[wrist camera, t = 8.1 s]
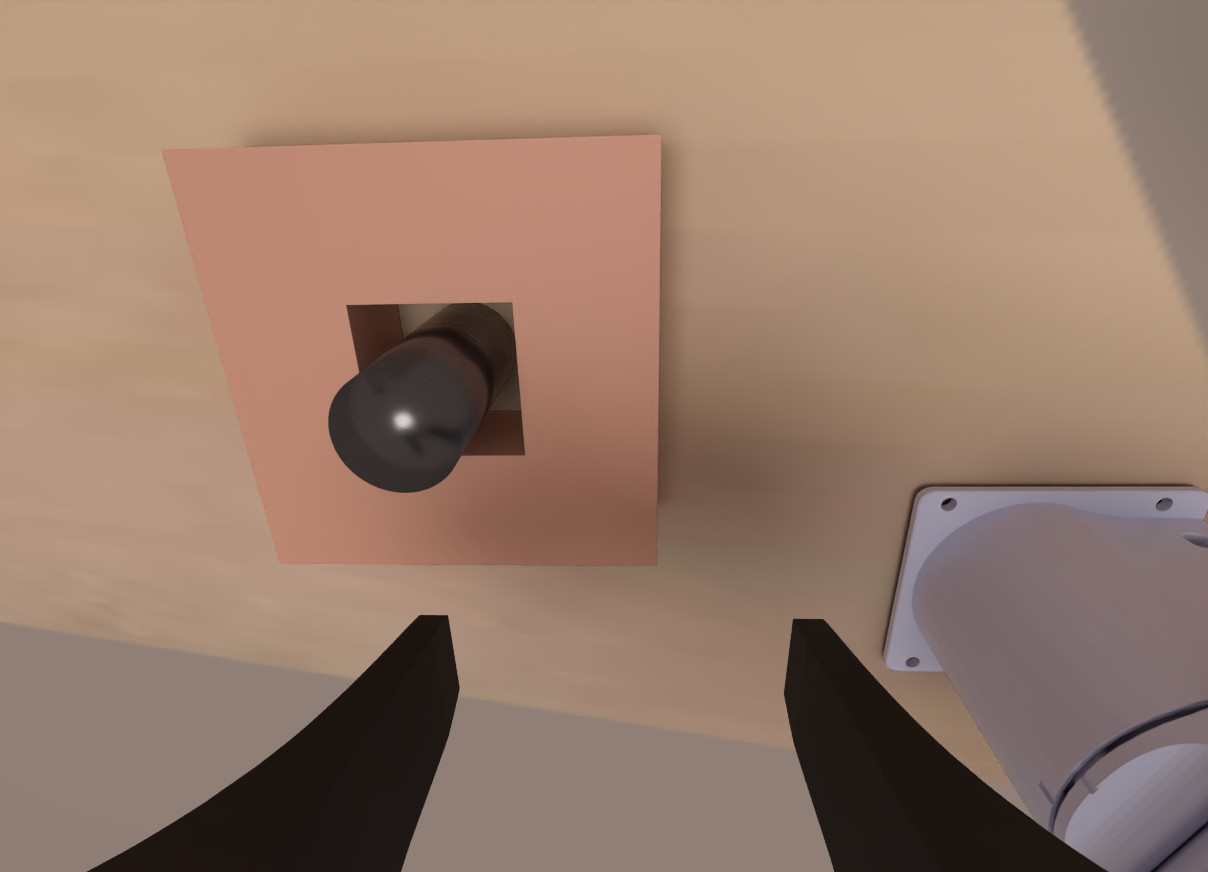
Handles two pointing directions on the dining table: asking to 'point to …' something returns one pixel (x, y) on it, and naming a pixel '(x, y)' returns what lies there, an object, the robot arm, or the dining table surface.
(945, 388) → the dining table surface
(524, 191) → the socket block
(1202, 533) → the robot arm
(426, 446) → the peg
